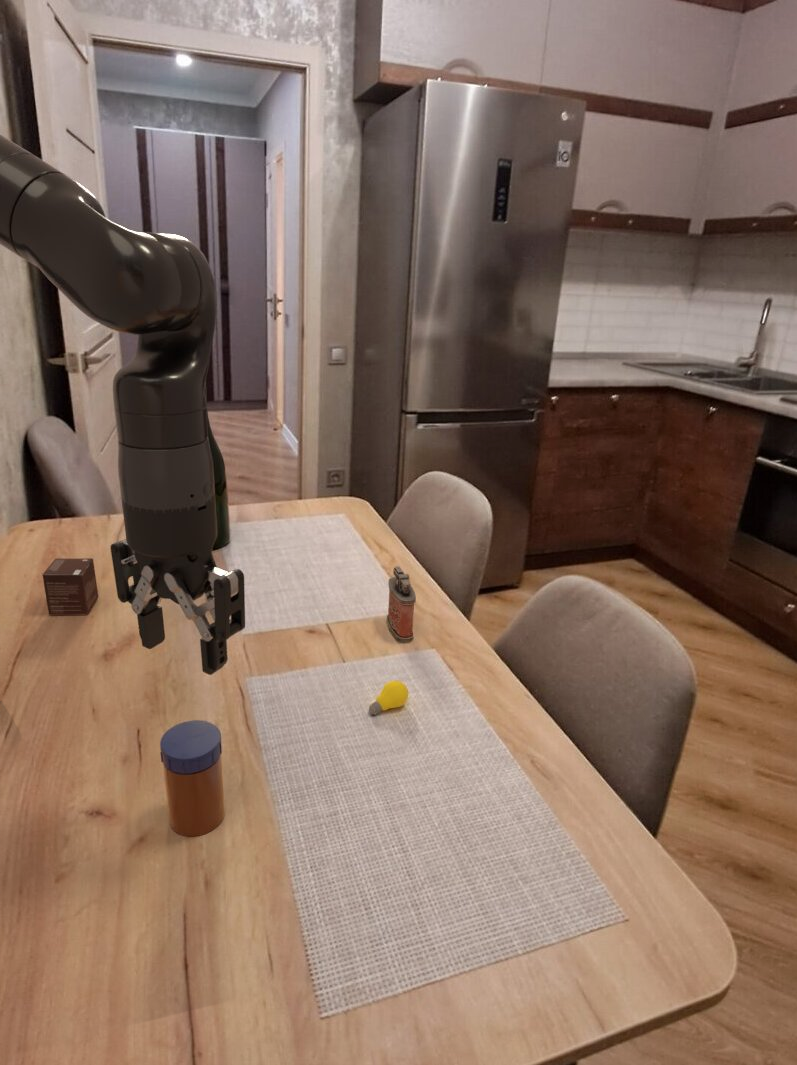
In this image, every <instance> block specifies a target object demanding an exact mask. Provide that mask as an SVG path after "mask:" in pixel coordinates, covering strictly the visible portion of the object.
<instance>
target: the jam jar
mask: <svg viewBox="0 0 797 1065" xmlns="http://www.w3.org/2000/svg"><path fill="white" fill-rule="evenodd" d="M222 758H223V757H222V754H221V755H220V757H219V758H218V760H217V761H216V762H215V763H214V764H213V765H211V766H210V767H208V768H206V769H204V770H202V771H199V772H195V773H188V774H183V773H176V772H173V771H171V770H169V769H167V768H166V767H165V766H164V764H163V763H162V765H163V776H164V784H165V785H164V786H165V793H166V794H165V795H166V802H167V812H168V820H169V826H170V827H171V829H172V830H173V831H174V832H175V833H176V834H178V835H181V836H182V837H183V836H184V837H199V836H203V835H206V834H208V833H210V832H213V830H215V829H216V828H217V827H218V826H220V824H221V823H222V822H223V820H224V817H225V814H226V806H225V790H224V775H223V773H224V772H223V761H222Z"/></svg>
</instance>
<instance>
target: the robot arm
mask: <svg viewBox="0 0 797 1065" xmlns="http://www.w3.org/2000/svg"><path fill="white" fill-rule="evenodd" d="M0 245H1V246H2V247H4V248H6V249H7V250H9V251H10V252H12V253H13V254H14V255H17V257H20V258H21V259H23V260H25V261H27V262H28V263H30V264H32V265H34V266H35V267H37V268H38V269H39V270H40V271H41V272H42V274H43V275H44V276H45V277H46V278H47V279H48V280H49V281H50V282H51V284H53V285H54V286H55V287H56V288H57V289H58V291H59V292H61V293H62V294H63V295H64V296H65V297H66V298H67V299H68V300H69V301H70V302H71V303H72V305H74V307H76V309H78V310H79V311H80V312H82V313H83V314H84V315H86V316H87V317H88V318H90V319H91V320H93V321H94V322H96V323H98V324H100V325H102V326H104V327H106V328H108V329H110V330H113V331H115V332H119V333H122V334H127V335H137V341H136V349H135V352H134V356H133V357H132V359H131V360H130V361H129V362H128V363H125V365H123V366H121V368H120V369H118V370H117V371H116V373H115V374H114V376H113V380H112V399H113V408H114V410H113V411H114V419H115V427H116V435H117V444H118V445H117V447H118V453H117V470H118V481H119V488H120V499H121V507H122V515H123V516H122V517H123V524H124V531H125V532H124V533H125V538H124V539H122V540H120V541H117V542H114V543H112V544H111V545H110V554H111V561H112V567H113V576H114V582H115V588H116V593H117V594H116V595H117V599H118V600H119V601H120V602H121V603H122V604H123V603H124V604H125V603H127V602H128V603H129V604H130V605H131V609H132V611H133V613H134V614H136V616H137V618H136V619H137V625H138V634H139V638H140V641H141V646H142V647H143V648H145V649H148V650H151V649H154V648H155V647H157V646H159V645H160V644H162V643H163V642H164V641H165V639H166V634H165V623H164V622H165V621H164V613H163V612H164V611H163V606H160V605H159V604H161V602H162V600H163V599H164V600H170V601H172V602H173V603H175V604H177V605H179V606H180V608H181V610H182V612H183V614H184V616H185V617H186V619H188V620H190V621H193V623H194V624H195V627H196V629H197V631H198V633H199V634H200V636H201V638H200V639H199V643H200V657H201V670H202V672H203V673H204V674H206V675H209V676H212V675H213V674H215V673H216V672H218V671H219V670H221V669H222V668H223V667H224V666H225V665H226V664H227V663H228V658H229V657H228V644H227V641H228V639H230V638H231V637H232V636H234V635H236V634H237V633H240V632H241V631H243V630H244V629H246V599H245V596H246V595H245V574H244V572H243V571H242V570H241V569H240V568H234V569H233V570H231V571H227V570H224V569H221V568H219V567H218V565H217V563H216V561H215V559H214V555H213V549H212V548H213V545H214V543H215V540H216V538H217V518H216V501H215V486H214V468H213V460H212V455H211V451H210V446H209V438H208V424H207V410H208V407H207V408H206V400H207V395H206V396H205V386H206V381H207V375H208V371H209V367H210V363H211V355H212V349H213V342H214V335H215V329H216V321H217V311H218V310H217V309H218V308H217V307H218V306H217V305H218V303H217V302H218V301H217V299H218V298H217V289H216V283H215V278H214V275H213V272H212V269H211V266H210V263H209V262H208V259H207V258H206V256H205V254H204V253H203V252H202V250H200V248H199V247H198V246H197V245H196V244H195V243H194V242H192V241H191V240H189V239H188V238H186V237H183V236H181V235H178V234H173V233H166V232H165V233H164V232H152V231H151V232H150V231H138V230H131V229H129V228H126V227H124V226H122V225H119V224H117V223H115V222H113V221H111V220H110V219H108V218H107V217H106V214H105V211H104V208H103V207H102V205H101V203H100V201H99V200H98V199H97V197H96V196H95V195H94V194H93V193H91V192H90V191H89V190H88V189H87V188H86V187H85V186H83V185H82V184H80V183H79V182H78V181H76V180H75V179H73V178H71V177H70V176H69V175H67V174H65V173H64V172H62V171H60V170H58V169H57V168H56V167H54V166H53V165H51V164H49V163H47V162H46V161H45V160H43V159H42V158H40V157H38V156H37V155H35V154H33V153H32V152H30V151H28V150H26V149H25V148H23V147H21V146H20V145H18V144H16V143H15V142H13V141H12V140H10V139H8V138H7V137H5V136H4V135H2V134H0ZM131 577H132V580H133V584H131V585H129V580H130V578H131ZM204 594H205V597H206V599H205V601H204V602H203V603H201V604H199V605H197V604H196V603H195V601H196V600H198V599H200V598H202V597H203V596H204ZM208 612H209V614H210V615H211V618H212V620H213V621H214V622H211V623H210V622H209V620H208V617H207V615H206V614H207V613H208Z"/></svg>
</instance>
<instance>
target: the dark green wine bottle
mask: <svg viewBox="0 0 797 1065" xmlns="http://www.w3.org/2000/svg"><path fill="white" fill-rule="evenodd" d="M205 396H206V397H207V387H206V385H205ZM207 401H208V400H207V399H206V408H207V424H208V438H209V446H210V451H211V455H212V460H213V468H214V486H215V501H216V518H217V538H216V540H215V543H214V545H213V548H212V550H216V549H219V548H221V547H224V546H225V545H227V544H228V543H229V542H230V540H231V518H230V504H229V502H230V501H229V491H228V490H229V488H228V477H227V470H226V464H225V463H226V462H225V460H224V459H225V458H224V456H223V453H222V451H221V448H220V446H219V445H218V444H219V443H217V440H216V437H215V435H214V433H213V431H212V427H211V423H210V419H209V410H208V402H207Z"/></svg>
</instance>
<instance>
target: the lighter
mask: <svg viewBox="0 0 797 1065" xmlns="http://www.w3.org/2000/svg"><path fill="white" fill-rule="evenodd" d="M392 570H393V571H392V572H393V573H392V574H393V576H394V577H392V576H391V577H390V578H389V579H388V584H387V585H388V590H389V591H388V610H387V615H386V626H387V628H388V631H389V633H390V634H391V636H392V637H393V638H394V639H395V640H396V641H397V642H398V643H401V644H409V643H412V642H413V641H414V631H413V629H414V628H413V627H414V613H415V612H414V611H415V603H416V602H417V596H416V592H415V590H414V588H413V587H412V582H411V581H410V575H409V573H405V572H404V570H403V569H402V567H401V566H400V565H396V566H394V567H393V569H392Z"/></svg>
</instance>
